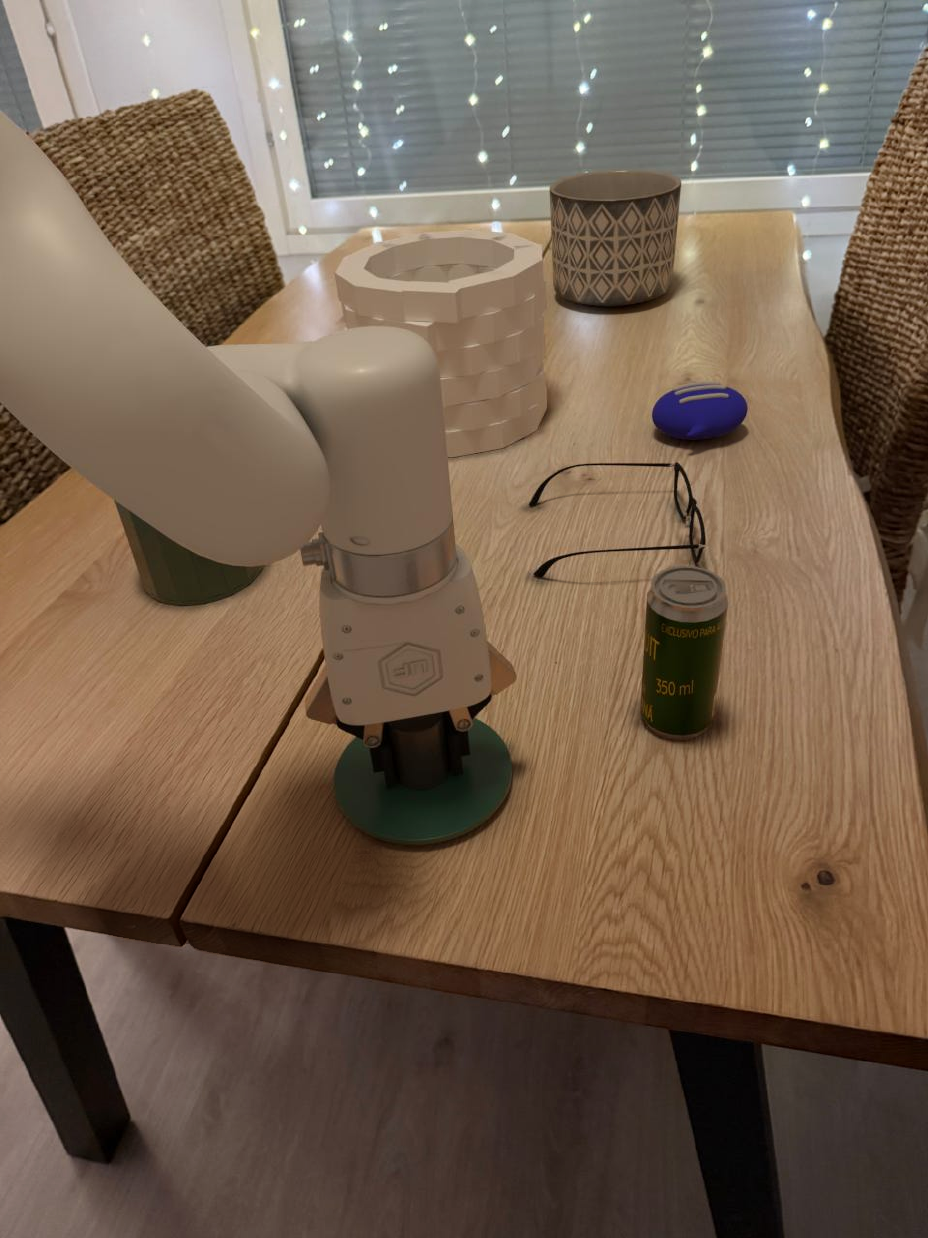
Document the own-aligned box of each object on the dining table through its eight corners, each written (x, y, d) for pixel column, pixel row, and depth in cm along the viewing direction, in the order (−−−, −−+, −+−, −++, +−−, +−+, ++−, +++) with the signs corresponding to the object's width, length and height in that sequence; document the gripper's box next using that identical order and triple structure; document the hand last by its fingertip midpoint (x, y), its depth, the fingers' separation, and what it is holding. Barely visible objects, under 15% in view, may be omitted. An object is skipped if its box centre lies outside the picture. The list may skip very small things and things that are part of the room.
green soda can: (705, 692, 71) (720, 561, 64) (720, 741, 66) (738, 607, 59) (634, 695, 71) (641, 566, 64) (645, 744, 67) (654, 612, 60)
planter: (681, 278, 150) (689, 168, 140) (664, 318, 136) (671, 199, 126) (566, 275, 156) (565, 169, 146) (538, 314, 142) (535, 199, 132)
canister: (118, 596, 87) (79, 488, 80) (186, 532, 96) (156, 431, 89) (224, 613, 84) (192, 503, 77) (284, 546, 92) (261, 441, 85)
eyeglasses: (710, 579, 83) (714, 541, 80) (534, 587, 83) (533, 550, 81) (679, 489, 96) (682, 454, 93) (527, 497, 97) (526, 463, 94)
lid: (304, 828, 63) (286, 759, 59) (378, 706, 72) (367, 640, 68) (479, 870, 59) (472, 800, 55) (533, 736, 68) (531, 668, 64)
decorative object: (657, 397, 98) (652, 373, 107) (652, 450, 101) (648, 422, 110) (758, 399, 97) (745, 375, 106) (750, 453, 100) (739, 425, 108)
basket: (394, 372, 127) (377, 228, 116) (565, 379, 121) (564, 228, 109) (324, 455, 108) (295, 292, 97) (523, 469, 102) (517, 296, 90)
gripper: (247, 608, 50) (305, 830, 61) (546, 558, 52) (551, 784, 63) (247, 537, 56) (301, 752, 67) (516, 495, 58) (525, 711, 69)
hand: (422, 765), depth 65 cm, fingers closed on lid, 4 cm apart
